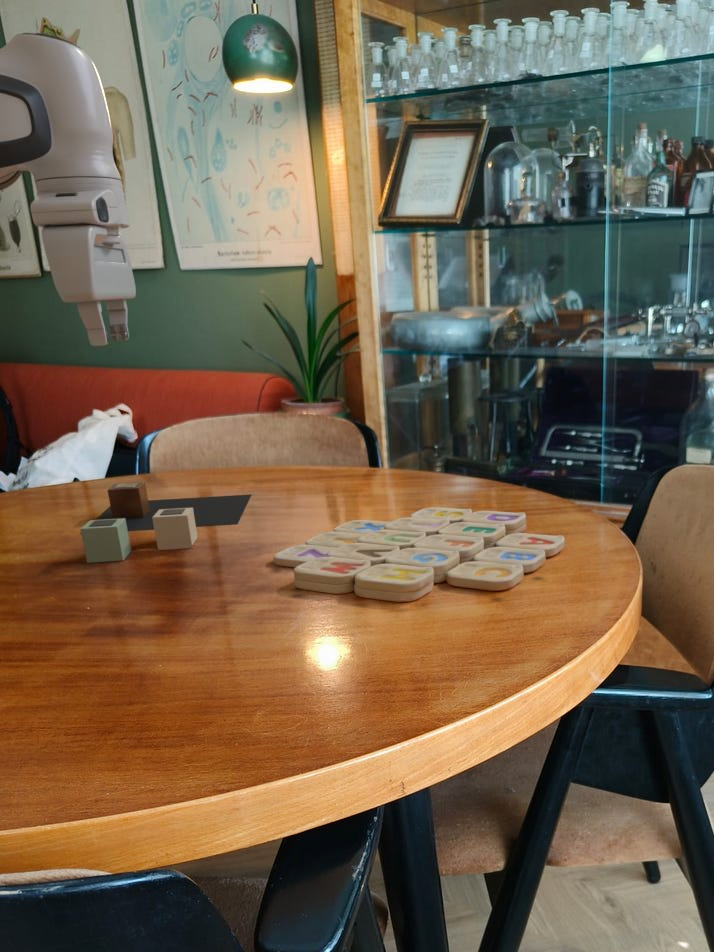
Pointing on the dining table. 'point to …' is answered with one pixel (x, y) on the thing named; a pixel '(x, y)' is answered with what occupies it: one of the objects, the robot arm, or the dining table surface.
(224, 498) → the word mat
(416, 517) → the alphabet tiles
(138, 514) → the dark chocolate cube
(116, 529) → the olive open-top cube
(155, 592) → the dining table surface
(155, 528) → the beige hollow cube
